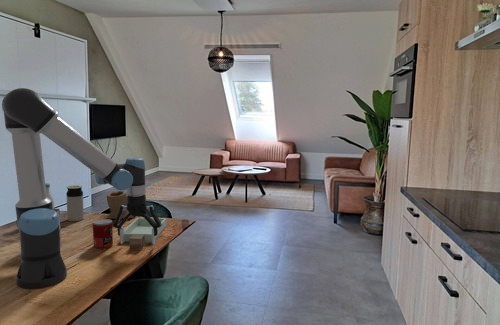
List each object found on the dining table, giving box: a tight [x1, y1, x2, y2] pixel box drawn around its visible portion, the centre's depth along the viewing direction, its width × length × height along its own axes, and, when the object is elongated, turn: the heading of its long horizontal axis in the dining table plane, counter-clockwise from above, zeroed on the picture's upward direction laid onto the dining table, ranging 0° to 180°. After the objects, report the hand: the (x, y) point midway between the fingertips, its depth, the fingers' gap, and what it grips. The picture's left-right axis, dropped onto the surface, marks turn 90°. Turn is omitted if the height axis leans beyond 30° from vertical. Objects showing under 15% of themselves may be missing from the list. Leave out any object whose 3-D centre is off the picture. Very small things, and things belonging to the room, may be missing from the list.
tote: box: [123, 217, 168, 244], centre depth 178 cm, size 26×15×4 cm, turn 0°
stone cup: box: [106, 190, 136, 220], centre depth 202 cm, size 15×12×15 cm
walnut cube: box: [128, 235, 146, 251], centre depth 159 cm, size 5×5×5 cm
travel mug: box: [65, 184, 85, 222], centre depth 198 cm, size 8×8×18 cm
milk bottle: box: [45, 182, 55, 209], centre depth 193 cm, size 8×8×20 cm
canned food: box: [92, 218, 114, 250], centre depth 160 cm, size 8×8×11 cm
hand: (138, 242), depth 159 cm, fingers open, 13 cm apart
